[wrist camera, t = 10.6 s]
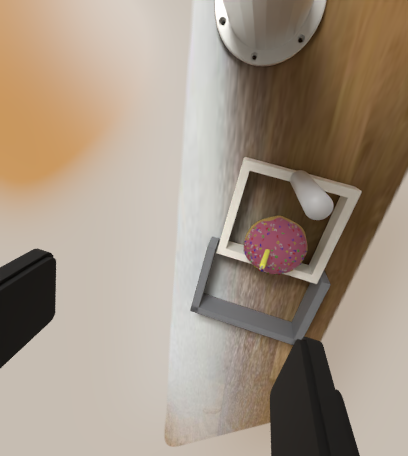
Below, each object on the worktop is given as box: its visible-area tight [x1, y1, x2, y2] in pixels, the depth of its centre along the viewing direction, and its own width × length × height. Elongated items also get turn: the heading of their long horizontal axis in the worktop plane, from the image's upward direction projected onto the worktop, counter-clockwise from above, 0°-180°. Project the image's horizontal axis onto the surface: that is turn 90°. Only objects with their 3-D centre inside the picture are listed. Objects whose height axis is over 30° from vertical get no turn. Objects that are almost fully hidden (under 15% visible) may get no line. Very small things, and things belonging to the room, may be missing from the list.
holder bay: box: [190, 237, 331, 345], centre depth 44 cm, size 12×18×4 cm
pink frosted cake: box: [243, 216, 307, 275], centre depth 36 cm, size 9×8×12 cm
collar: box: [217, 157, 362, 284], centre depth 33 cm, size 15×15×16 cm
